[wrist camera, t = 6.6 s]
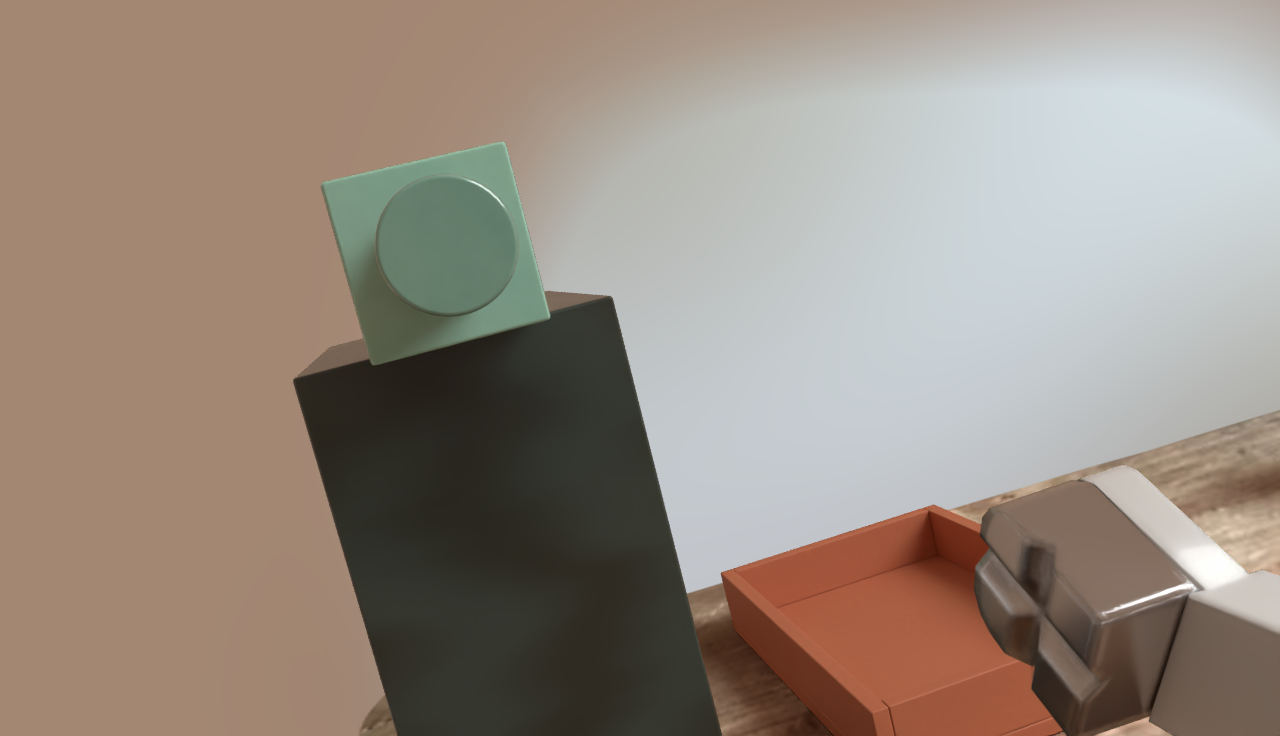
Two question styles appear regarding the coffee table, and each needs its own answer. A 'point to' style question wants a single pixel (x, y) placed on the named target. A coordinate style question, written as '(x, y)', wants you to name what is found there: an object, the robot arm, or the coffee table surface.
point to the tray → (887, 632)
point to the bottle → (436, 252)
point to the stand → (510, 533)
